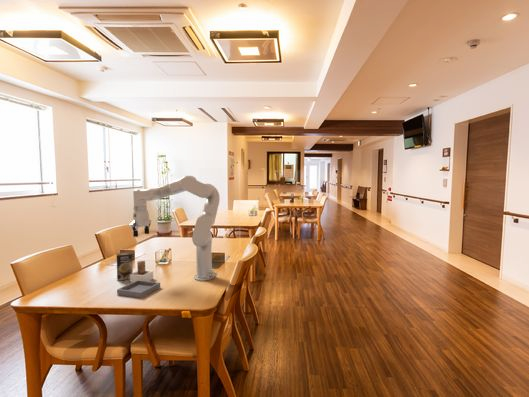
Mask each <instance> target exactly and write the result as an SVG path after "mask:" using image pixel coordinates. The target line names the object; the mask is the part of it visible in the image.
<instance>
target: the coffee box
mask: <svg viewBox="0 0 529 397" xmlns="http://www.w3.org/2000/svg"><path fill="white" fill-rule="evenodd" d="M115 256H116V280H117V282H121V281H126V280H127V281H128V280H130V274H132V273H134V272H133V271H134V270H133V269H134V268H133V252H120V253H116V254H115Z"/></svg>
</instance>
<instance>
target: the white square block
mask: <svg viewBox="0 0 529 397" xmlns="http://www.w3.org/2000/svg"><path fill="white" fill-rule="evenodd" d="M145 272H146V274H144V275H138V270H136V271H135V272H133V273H132V274H130V279H129V283H132V282H134V281H137V280H142V281H150V282H151V281H152V280H154V271H153V270H146V269H145Z"/></svg>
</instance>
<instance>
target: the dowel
mask: <svg viewBox="0 0 529 397" xmlns="http://www.w3.org/2000/svg"><path fill="white" fill-rule="evenodd" d="M136 264H137V271H138V275H144V274H146V272H145V270H146V261H145V260H138V261H137V262H136Z"/></svg>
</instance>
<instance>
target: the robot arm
mask: <svg viewBox="0 0 529 397" xmlns="http://www.w3.org/2000/svg"><path fill="white" fill-rule="evenodd" d="M132 192H133V195H132V196H133V215H132V222H131V223H129V227H130V229H131V230H132V234H133V238H134V237H135V238H138V237H139V230H138V229H139V228H142V227H144V230H143V231H144V234H145V235H149V234H150V228H151V227H150V226H151V223H152V220H151V219H150V215H149V214H150V213H149V210H148V209H147V208H148V206H147V201H148V202H152V201H156V200H161V199H164V198H167V197H170V196H175V195H178V194H181V193H184V192H188V193H190V194H192V195H194V196H196V197H199V198H201V199H205V203H204V206H203V210H202V213H201V214H200V215H199V216H198V217H197V218H196V221H195V225H194V229H193V231H192V232H193V233H192V237H191V242H192V243H193V245H194V246H196V248H195V250H196V251H195V252H196V253H195V254H196V255H195V256H196V258H195V260H196V262H195V263H196V274H195V275H194V280H196V281H198V282H199V281H201V282H202V281H203V282H205V281H211V280H213V279H214V278H216V277H217V276H218V272H214V270H213V263H212V262H213V261H212V258H213V257H212V256H213V255H212V244H213V236H212V232H211V228H212V227H213V226H214V224H215V222H216V221H215V220H216V219H217V218H216V217H217V214H218V209H219V206H220V201H221V200H220V199H221V198H220V193H219V191H218V189H217V188H216V187H215V185H213V184H211V183H203V182H201V181H199V180H197V178H196V177H195V176H193V175H184V176H183V177H181V178H177V179H174V180H171V181H169V182H168V183H166V184H164V185H162V186H159V187H155V188H153V187H152V188H148V189H147V188H146V189H145V188H135V189H133V191H132Z"/></svg>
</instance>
